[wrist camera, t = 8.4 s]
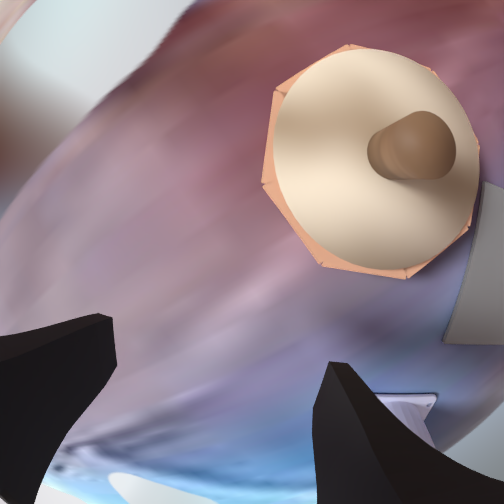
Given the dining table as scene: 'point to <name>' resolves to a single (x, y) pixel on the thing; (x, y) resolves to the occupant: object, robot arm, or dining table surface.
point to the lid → (376, 159)
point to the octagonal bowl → (278, 198)
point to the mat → (482, 278)
